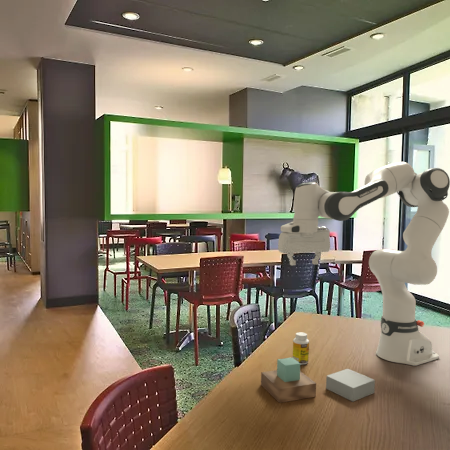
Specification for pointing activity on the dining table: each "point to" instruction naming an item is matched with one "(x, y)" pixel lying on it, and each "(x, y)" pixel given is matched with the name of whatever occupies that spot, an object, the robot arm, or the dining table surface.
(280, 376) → the teal cube
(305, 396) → the walnut block
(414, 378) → the dining table surface
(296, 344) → the supplement bottle
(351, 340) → the dining table surface
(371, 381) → the slate block
